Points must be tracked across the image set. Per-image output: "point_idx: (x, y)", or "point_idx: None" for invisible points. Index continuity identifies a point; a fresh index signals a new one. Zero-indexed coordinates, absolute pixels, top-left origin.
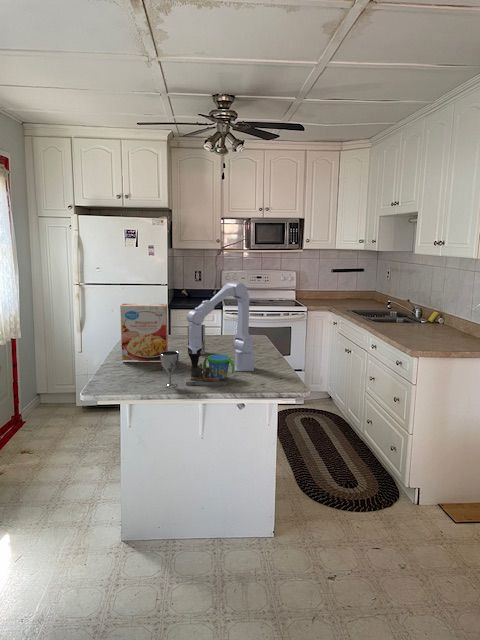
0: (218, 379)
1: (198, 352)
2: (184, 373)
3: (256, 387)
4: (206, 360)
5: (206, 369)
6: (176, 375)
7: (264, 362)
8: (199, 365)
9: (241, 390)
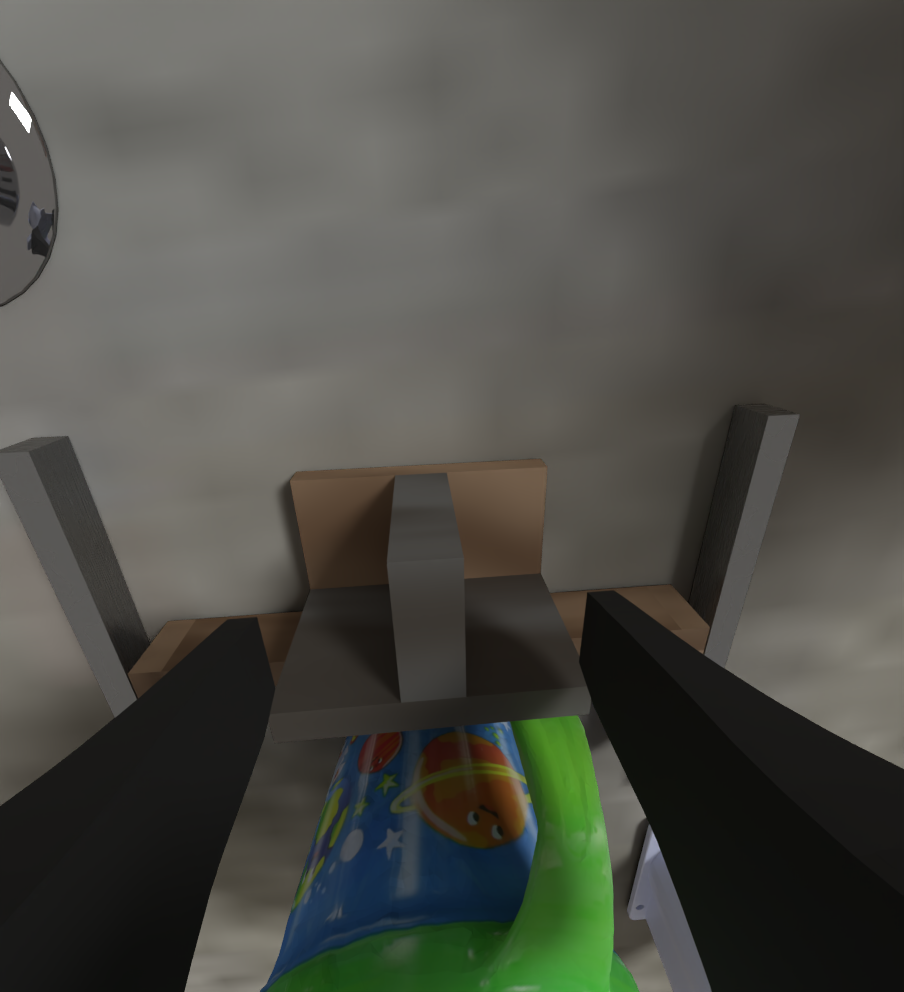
0: None
1: (729, 975)
2: (655, 334)
3: (208, 955)
4: (594, 825)
5: None
6: (554, 200)
7: None
8: (451, 693)
9: None
